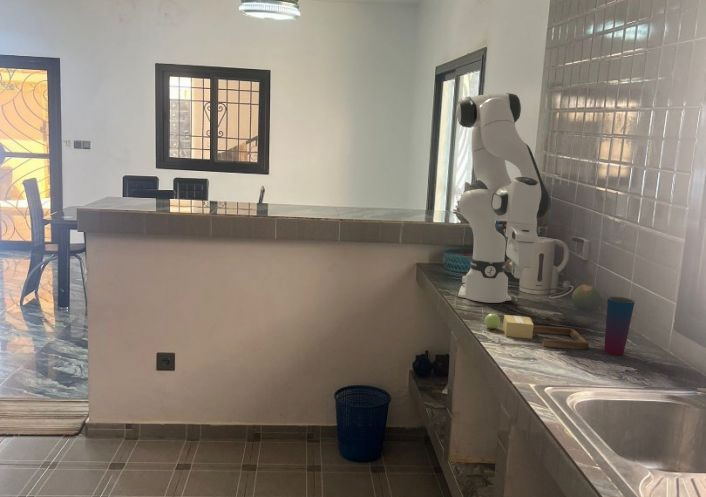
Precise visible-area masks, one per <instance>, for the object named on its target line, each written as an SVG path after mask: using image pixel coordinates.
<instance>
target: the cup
mask: <svg viewBox="0 0 706 497" xmlns="http://www.w3.org/2000/svg"><path fill="white" fill-rule="evenodd" d="M606 302H607V306H606V317H605V318H606V319H605V320H606V321H605V331H604V332H605V335H604V336H605V337H604V346H603V347H604V348H603V349H604V352H605V353H606V354H609V355H614V356H623V355H624V354H625V350H626V345H627V340H628V336H629V335H628V334H629V331H630V325H631V321H632V316H633V312H634V307H635V303H636V301H635V299H631V298H627V297H623V296H608V297H607V301H606Z"/></svg>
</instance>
